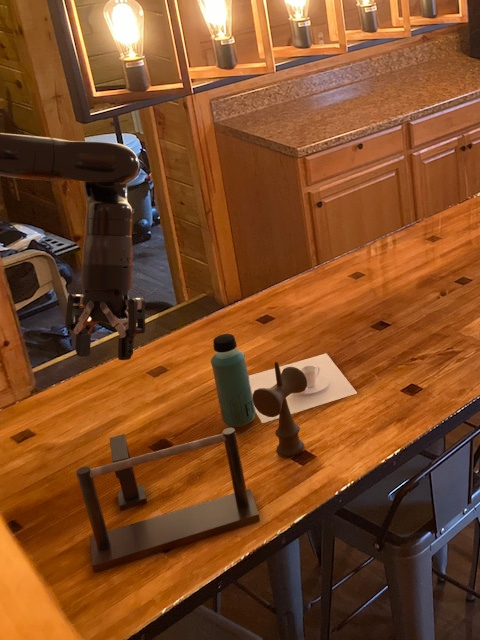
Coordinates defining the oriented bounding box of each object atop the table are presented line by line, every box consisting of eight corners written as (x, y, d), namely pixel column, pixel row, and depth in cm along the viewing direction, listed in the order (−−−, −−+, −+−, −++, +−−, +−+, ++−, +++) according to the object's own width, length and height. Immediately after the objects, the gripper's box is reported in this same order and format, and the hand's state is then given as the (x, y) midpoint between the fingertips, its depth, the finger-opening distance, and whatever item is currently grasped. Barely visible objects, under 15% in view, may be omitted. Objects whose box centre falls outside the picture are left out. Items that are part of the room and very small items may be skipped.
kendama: (262, 462, 180) (245, 371, 172) (292, 434, 188) (278, 346, 180) (288, 468, 178) (273, 377, 170) (318, 439, 186) (305, 351, 178)
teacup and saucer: (294, 401, 199) (291, 384, 197) (282, 384, 205) (280, 368, 203) (334, 388, 203) (332, 372, 202) (322, 372, 209) (320, 356, 208)
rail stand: (93, 573, 153) (69, 488, 147) (91, 543, 160) (68, 460, 153) (260, 521, 165) (245, 439, 158) (251, 494, 171) (237, 415, 164)
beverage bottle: (251, 433, 188) (235, 346, 180) (218, 433, 188) (200, 346, 180) (262, 414, 194) (246, 329, 186) (229, 415, 194) (213, 329, 186)
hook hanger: (118, 496, 171) (102, 436, 166) (144, 488, 173) (130, 429, 168) (121, 525, 164) (105, 463, 159) (149, 517, 166) (134, 456, 161)
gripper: (55, 260, 159) (51, 357, 159) (125, 264, 155) (121, 363, 155) (90, 260, 166) (87, 352, 166) (158, 263, 162) (155, 358, 162)
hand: (103, 357), depth 160 cm, fingers open, 8 cm apart
